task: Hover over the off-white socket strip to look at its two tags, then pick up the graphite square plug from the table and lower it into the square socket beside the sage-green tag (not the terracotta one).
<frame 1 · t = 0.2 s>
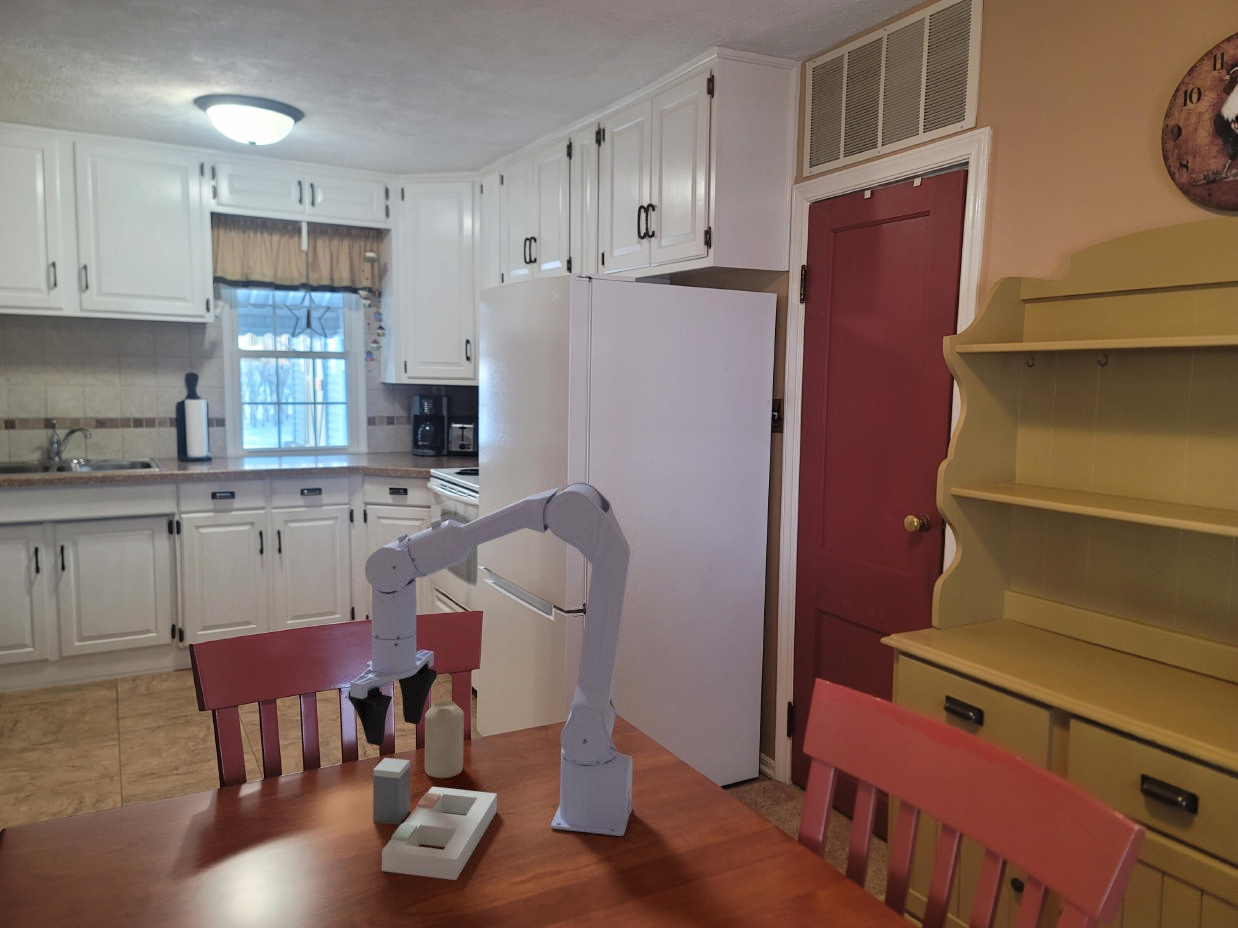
hand: (394, 732, 116), 10 cm above the table, fingers open, 7 cm apart
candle: (443, 771, 127), on the table
plug: (391, 815, 113), on the table
socket strip: (443, 839, 108), on the table
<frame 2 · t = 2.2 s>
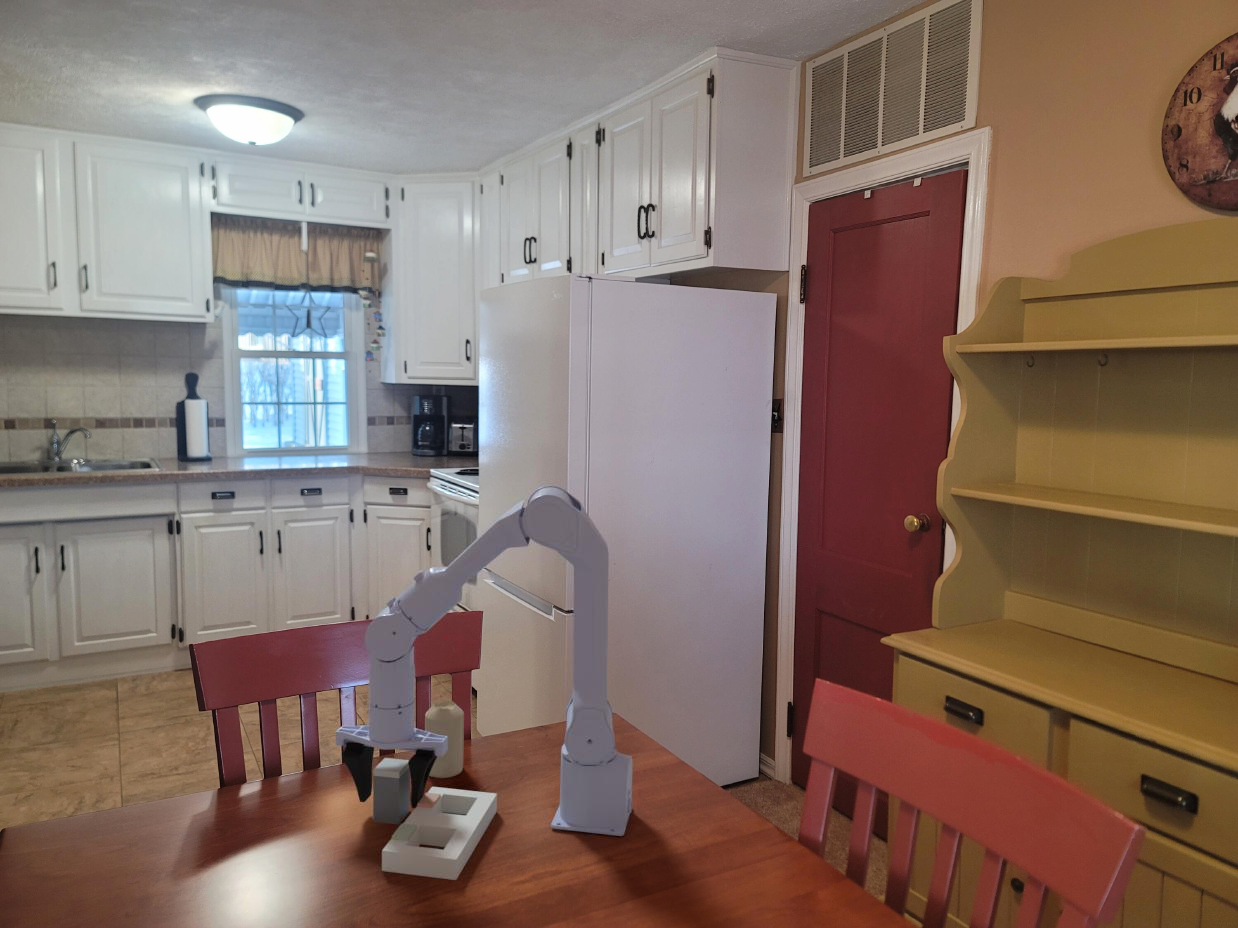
hand: (391, 801, 113), 2 cm above the table, fingers open, 6 cm apart
nothing on the table moved.
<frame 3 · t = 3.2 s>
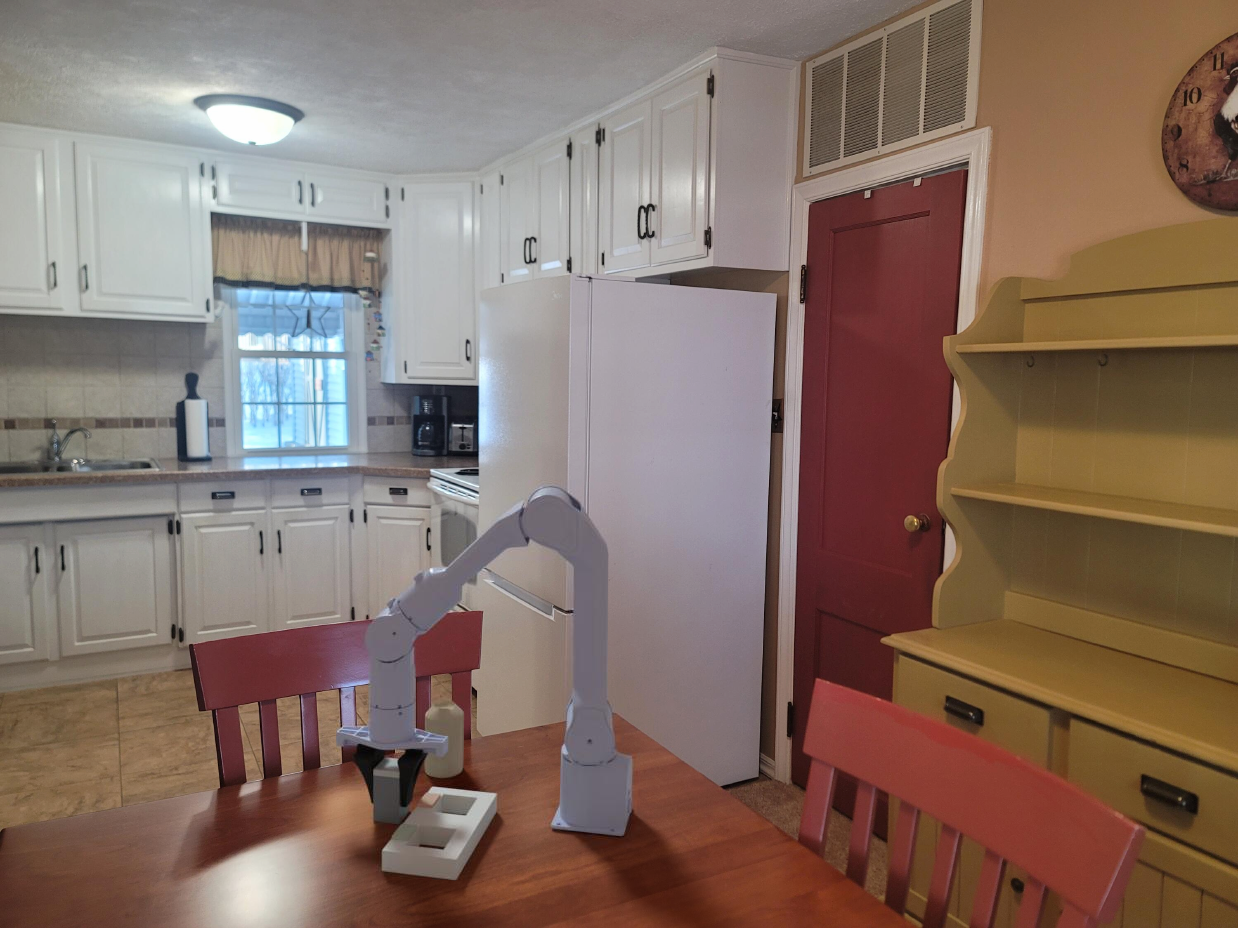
hand: (391, 801, 113), 2 cm above the table, fingers closed on plug, 3 cm apart
plug: (391, 815, 113), on the table, touching gripper
everything else where it was.
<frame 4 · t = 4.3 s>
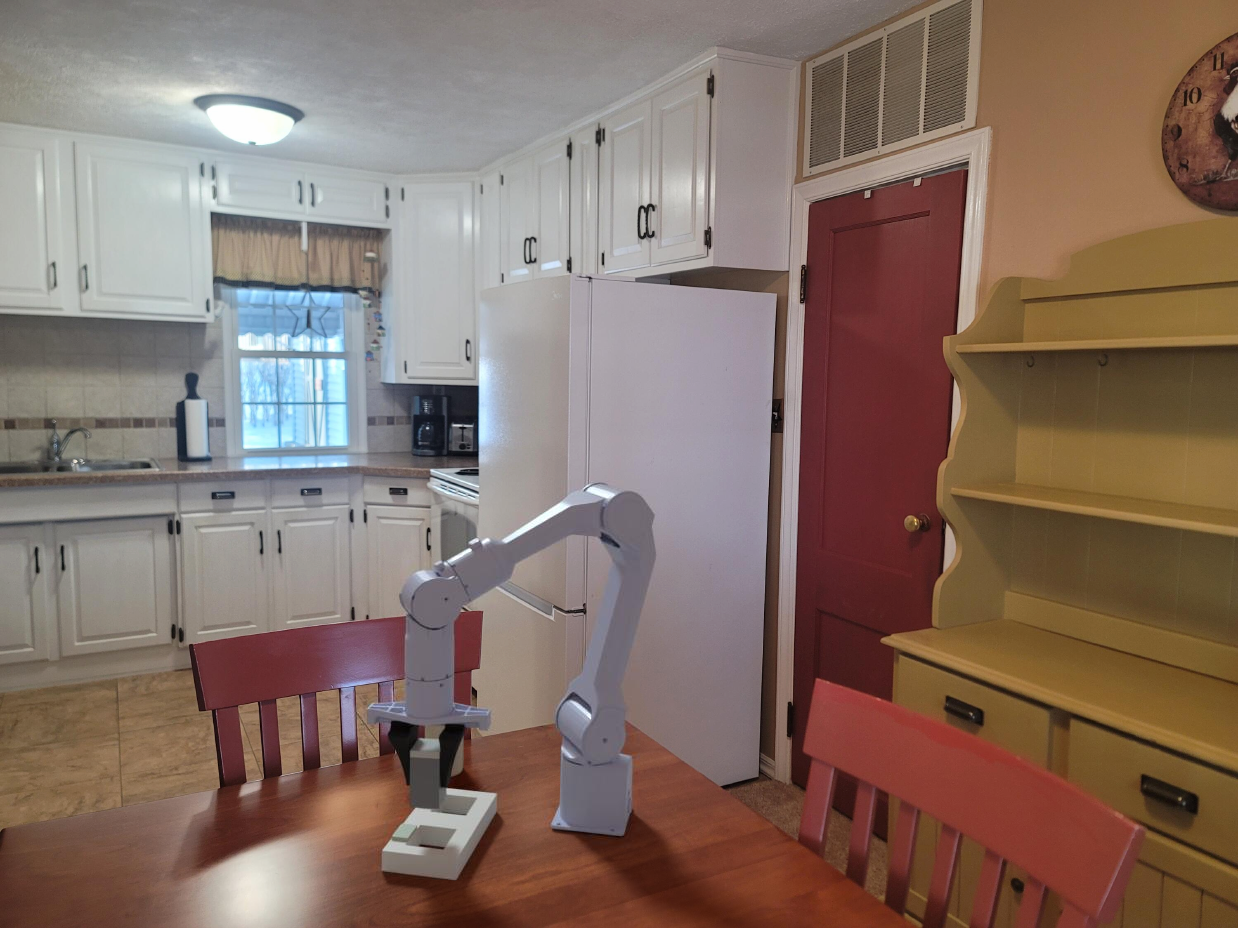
hand: (428, 782, 104), 9 cm above the table, fingers closed on plug, 3 cm apart
plug: (428, 800, 104), point 7 cm above the table, touching gripper
everything else where it was.
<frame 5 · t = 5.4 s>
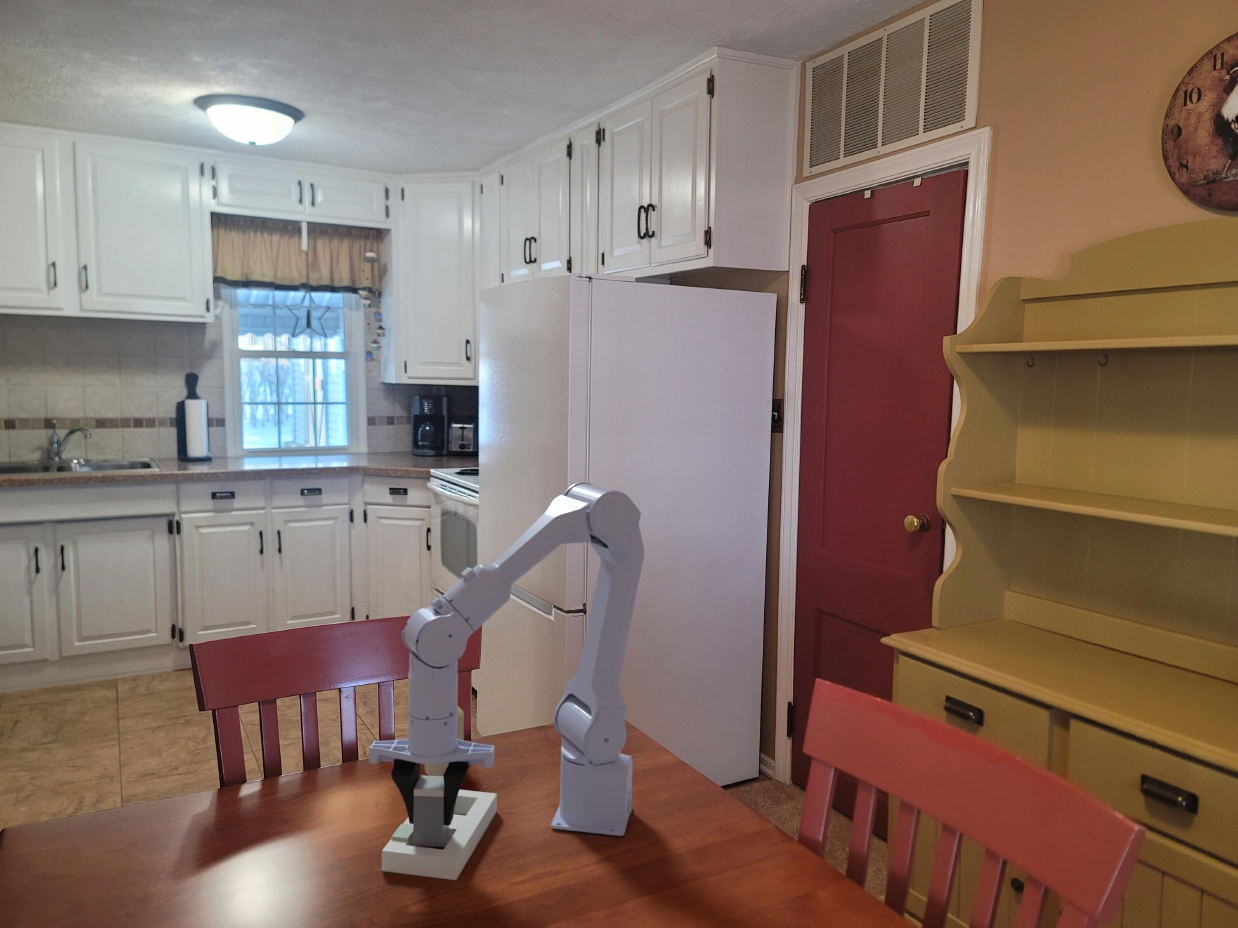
hand: (431, 820, 104), 5 cm above the table, fingers closed on plug, 3 cm apart
plug: (431, 838, 104), point 2 cm above the table, touching gripper
everything else where it was.
when the fingers open (3 cm above the table, at t = 6.1 s): plug stays where it is, resting in socket strip.
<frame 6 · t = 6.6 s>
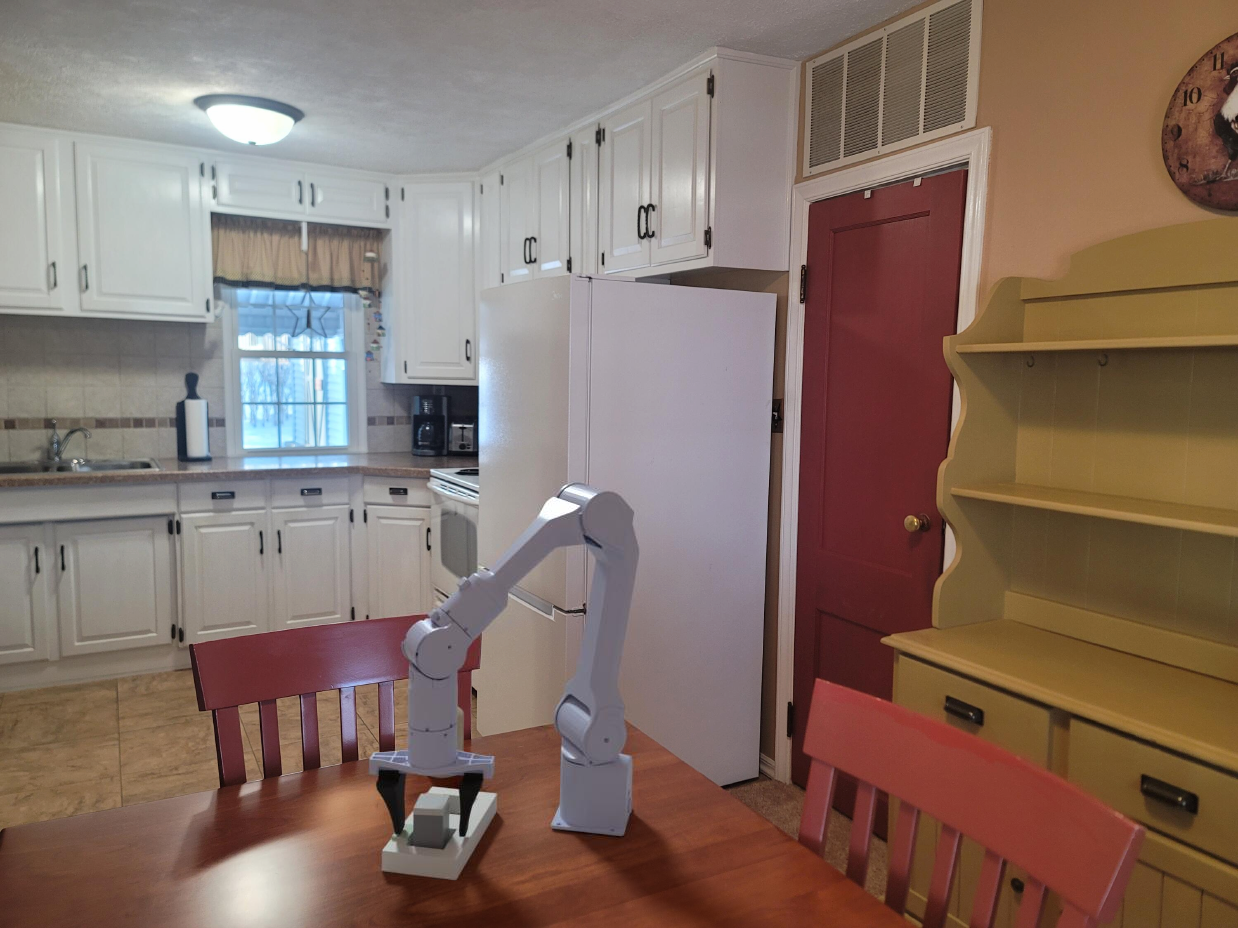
hand: (431, 831, 104), 3 cm above the table, fingers open, 7 cm apart
plug: (431, 856, 104), resting in socket strip
everything else where it was.
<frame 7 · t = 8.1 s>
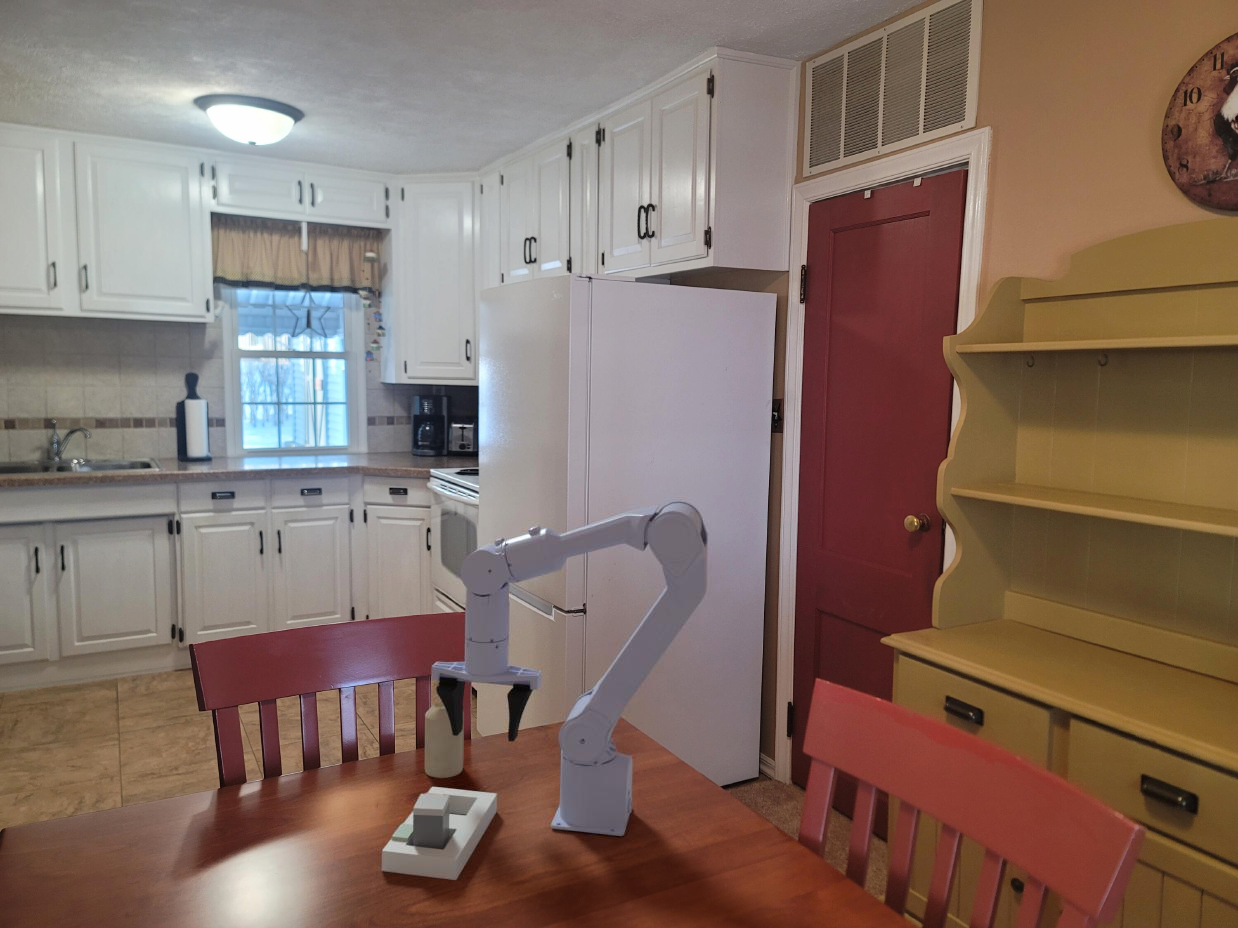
hand: (485, 735, 116), 10 cm above the table, fingers open, 7 cm apart
nothing on the table moved.
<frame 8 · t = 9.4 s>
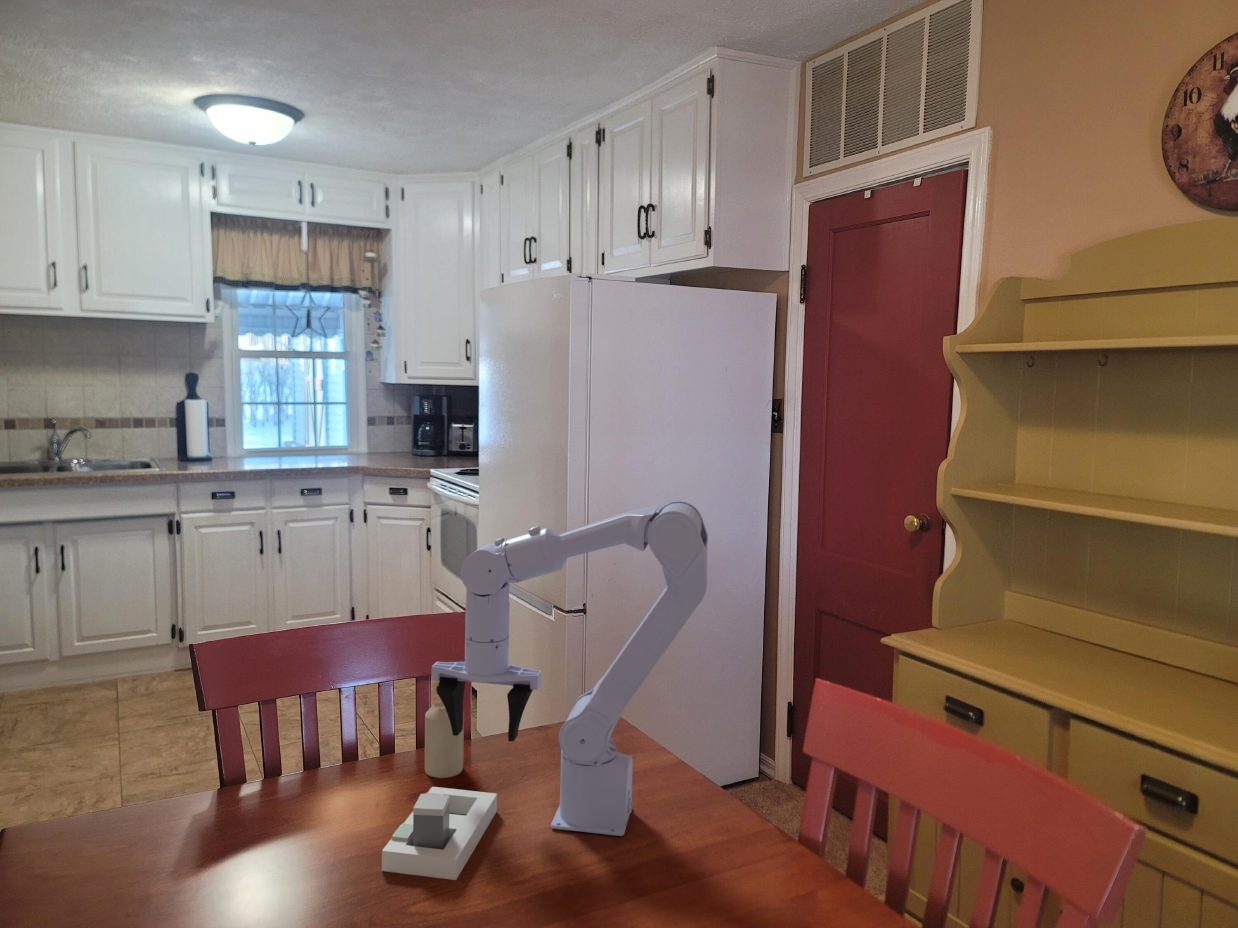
hand: (485, 735, 116), 10 cm above the table, fingers open, 7 cm apart
nothing on the table moved.
at the end: plug 0.0 cm from the target spot, resting in socket strip; plug tilted 0°; the gripper is holding nothing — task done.
